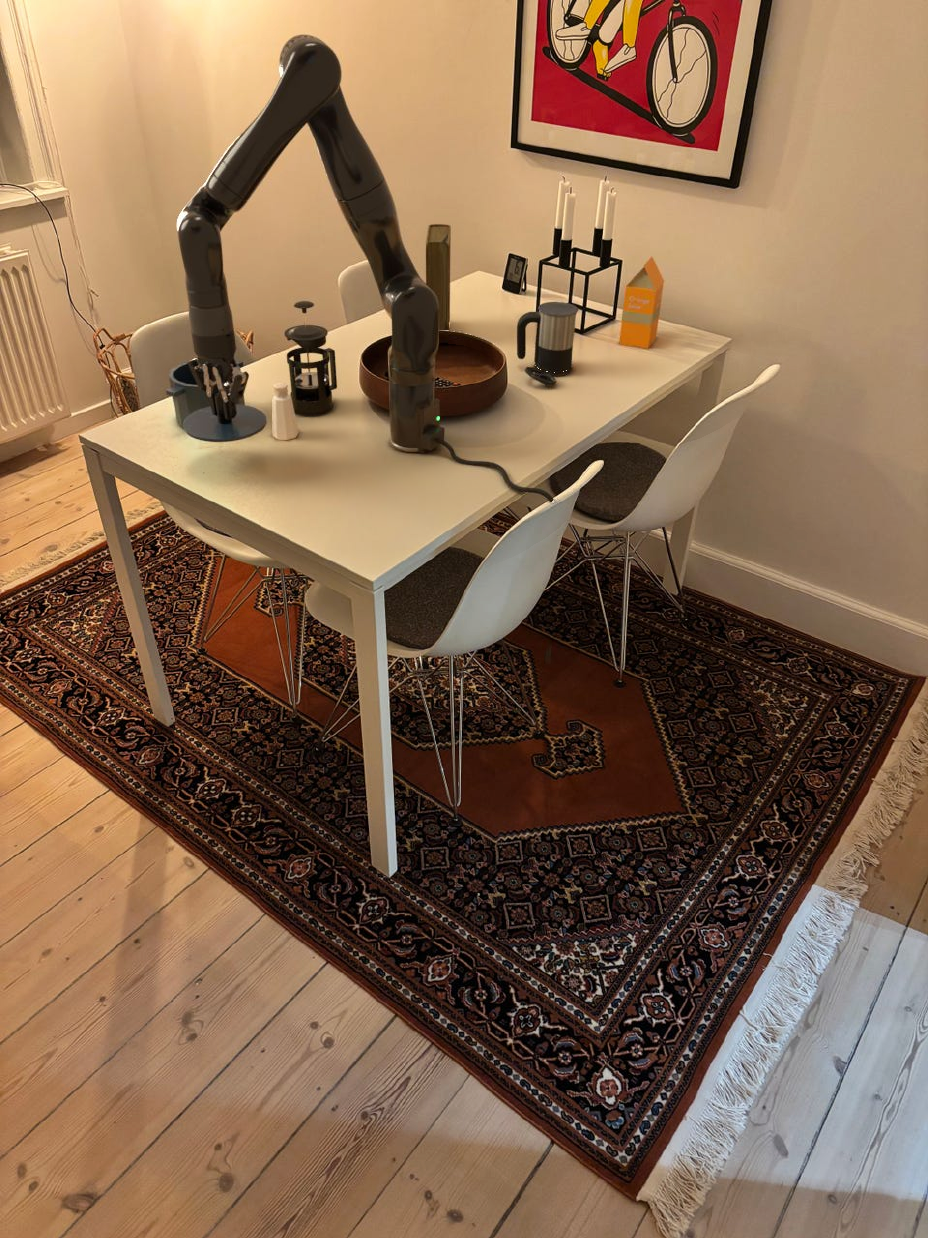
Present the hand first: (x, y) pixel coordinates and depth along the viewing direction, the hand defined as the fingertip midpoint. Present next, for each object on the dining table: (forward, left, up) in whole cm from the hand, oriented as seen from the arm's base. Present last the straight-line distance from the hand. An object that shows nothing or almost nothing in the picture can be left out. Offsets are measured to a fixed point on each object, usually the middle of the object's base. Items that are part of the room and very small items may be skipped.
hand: (224, 415), depth 184 cm
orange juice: (-38, -108, -11) cm, 115 cm away
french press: (+4, -30, -11) cm, 32 cm away
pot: (+18, -13, -10) cm, 25 cm away
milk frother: (-30, -75, -11) cm, 81 cm away
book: (+6, -82, -11) cm, 83 cm away
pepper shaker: (0, -16, -11) cm, 19 cm away
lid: (0, 0, -2) cm, 2 cm away
